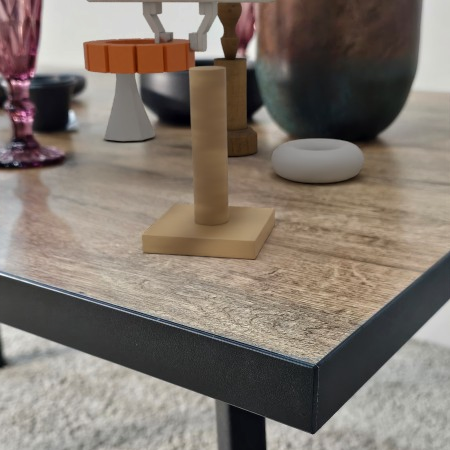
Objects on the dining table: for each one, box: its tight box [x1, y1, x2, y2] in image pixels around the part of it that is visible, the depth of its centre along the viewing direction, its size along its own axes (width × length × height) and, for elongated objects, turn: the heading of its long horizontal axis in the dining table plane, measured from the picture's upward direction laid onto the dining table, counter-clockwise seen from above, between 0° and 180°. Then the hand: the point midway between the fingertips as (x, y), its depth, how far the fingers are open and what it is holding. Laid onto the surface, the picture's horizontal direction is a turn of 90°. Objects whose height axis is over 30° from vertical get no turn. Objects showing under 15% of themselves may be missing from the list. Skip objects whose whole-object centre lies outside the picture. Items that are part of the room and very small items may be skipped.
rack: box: [141, 65, 276, 260], centre depth 59 cm, size 9×9×14 cm
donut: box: [270, 138, 365, 184], centre depth 80 cm, size 10×4×10 cm
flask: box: [103, 73, 155, 142], centre depth 101 cm, size 7×7×10 cm
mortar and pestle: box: [213, 2, 259, 157], centre depth 89 cm, size 7×6×18 cm
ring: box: [82, 37, 196, 75], centre depth 77 cm, size 11×11×3 cm
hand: (181, 51), depth 76 cm, fingers closed on ring, 2 cm apart
